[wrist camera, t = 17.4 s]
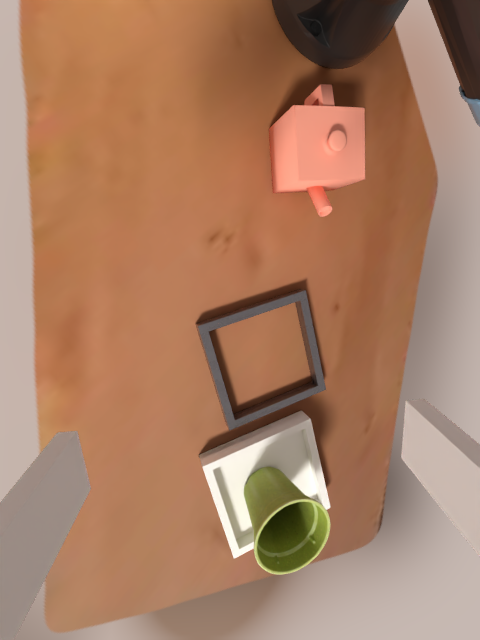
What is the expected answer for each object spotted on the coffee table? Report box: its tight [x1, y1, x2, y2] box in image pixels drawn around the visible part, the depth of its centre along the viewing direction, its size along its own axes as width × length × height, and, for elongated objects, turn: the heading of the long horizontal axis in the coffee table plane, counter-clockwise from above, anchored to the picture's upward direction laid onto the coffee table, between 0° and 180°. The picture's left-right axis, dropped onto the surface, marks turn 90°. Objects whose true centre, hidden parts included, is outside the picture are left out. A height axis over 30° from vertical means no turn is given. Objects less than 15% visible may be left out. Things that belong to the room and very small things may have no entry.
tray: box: [199, 410, 330, 558], centre depth 43 cm, size 15×15×2 cm
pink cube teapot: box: [269, 84, 365, 217], centre depth 34 cm, size 8×12×8 cm, turn 5°
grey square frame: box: [196, 289, 326, 430], centre depth 40 cm, size 14×14×2 cm
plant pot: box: [244, 467, 330, 574], centre depth 40 cm, size 9×9×9 cm
